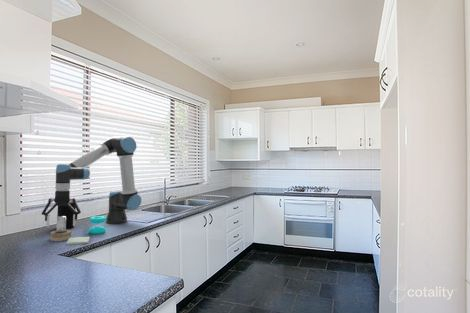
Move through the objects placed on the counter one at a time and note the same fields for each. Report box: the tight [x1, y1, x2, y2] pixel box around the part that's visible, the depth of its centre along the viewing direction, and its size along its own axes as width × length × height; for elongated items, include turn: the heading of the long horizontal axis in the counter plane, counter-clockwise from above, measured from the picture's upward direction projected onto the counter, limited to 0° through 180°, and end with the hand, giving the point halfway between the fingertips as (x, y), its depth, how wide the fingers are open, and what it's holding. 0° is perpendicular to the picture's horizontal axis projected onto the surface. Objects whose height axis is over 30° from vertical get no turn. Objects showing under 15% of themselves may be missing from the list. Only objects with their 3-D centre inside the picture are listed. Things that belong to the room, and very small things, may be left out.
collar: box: [49, 229, 72, 242], centre depth 180 cm, size 10×10×4 cm
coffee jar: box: [56, 201, 76, 230], centre depth 208 cm, size 11×11×18 cm
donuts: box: [88, 215, 107, 235], centre depth 197 cm, size 10×10×10 cm
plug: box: [55, 216, 67, 233], centre depth 180 cm, size 5×5×13 cm
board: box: [65, 236, 91, 246], centre depth 176 cm, size 11×11×1 cm
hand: (61, 226), depth 180 cm, fingers open, 13 cm apart
